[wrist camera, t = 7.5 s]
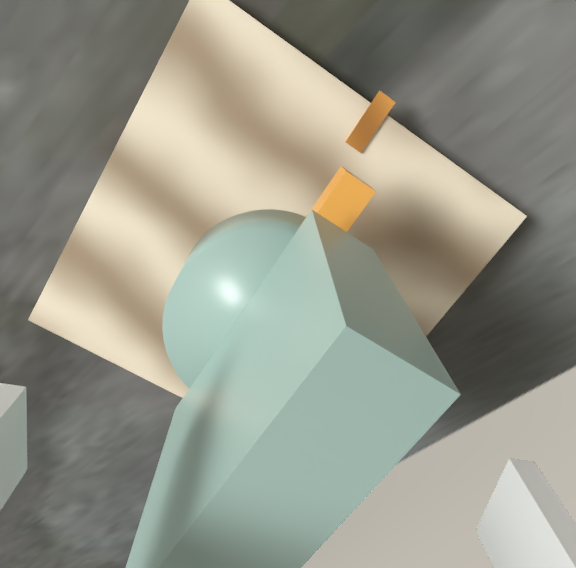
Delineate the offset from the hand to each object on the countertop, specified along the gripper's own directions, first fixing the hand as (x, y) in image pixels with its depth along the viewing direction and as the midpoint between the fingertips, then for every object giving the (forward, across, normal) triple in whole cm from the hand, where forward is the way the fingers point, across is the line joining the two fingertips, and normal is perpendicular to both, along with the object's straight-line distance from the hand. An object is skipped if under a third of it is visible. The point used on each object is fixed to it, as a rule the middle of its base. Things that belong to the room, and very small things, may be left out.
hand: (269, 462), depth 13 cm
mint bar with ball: (+12, 0, 0) cm, 12 cm away
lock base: (+18, 0, -1) cm, 18 cm away
